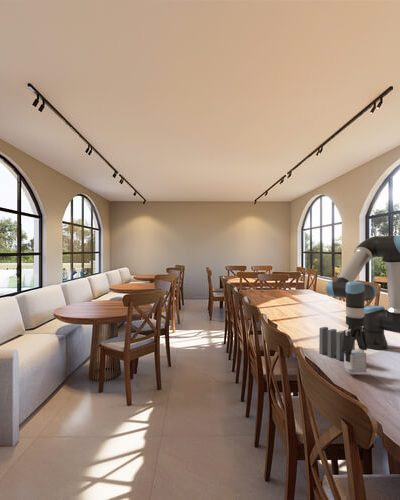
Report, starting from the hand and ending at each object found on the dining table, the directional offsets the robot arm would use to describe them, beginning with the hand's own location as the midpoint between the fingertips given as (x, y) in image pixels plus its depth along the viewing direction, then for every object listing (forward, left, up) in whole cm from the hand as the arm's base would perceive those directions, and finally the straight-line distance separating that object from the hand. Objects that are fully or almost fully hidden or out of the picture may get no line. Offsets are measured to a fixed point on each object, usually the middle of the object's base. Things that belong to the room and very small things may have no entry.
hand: (355, 366), depth 135 cm
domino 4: (-13, -10, -4) cm, 17 cm away
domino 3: (-13, -15, -4) cm, 20 cm away
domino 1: (-13, -25, -4) cm, 28 cm away
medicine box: (0, 0, -2) cm, 2 cm away
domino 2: (-13, -20, -4) cm, 24 cm away
